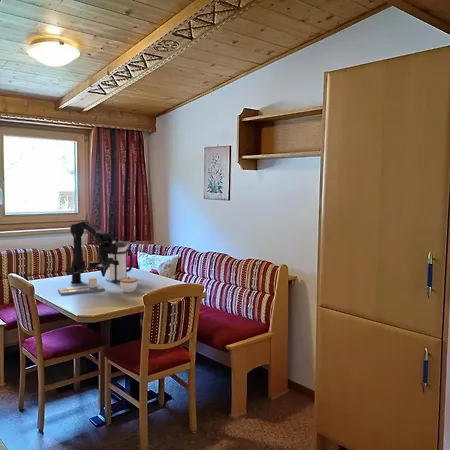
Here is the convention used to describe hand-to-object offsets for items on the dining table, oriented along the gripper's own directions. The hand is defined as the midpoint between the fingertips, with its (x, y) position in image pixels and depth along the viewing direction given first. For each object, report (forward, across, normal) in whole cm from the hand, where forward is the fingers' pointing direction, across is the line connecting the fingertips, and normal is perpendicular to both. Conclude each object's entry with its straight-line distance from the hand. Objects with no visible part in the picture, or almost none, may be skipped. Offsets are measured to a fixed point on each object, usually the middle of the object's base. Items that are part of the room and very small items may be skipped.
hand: (103, 276), depth 291 cm
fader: (+6, -7, 0) cm, 9 cm away
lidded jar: (+8, +12, -14) cm, 20 cm away
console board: (+8, -14, 0) cm, 16 cm away
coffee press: (+8, +15, +18) cm, 25 cm away
